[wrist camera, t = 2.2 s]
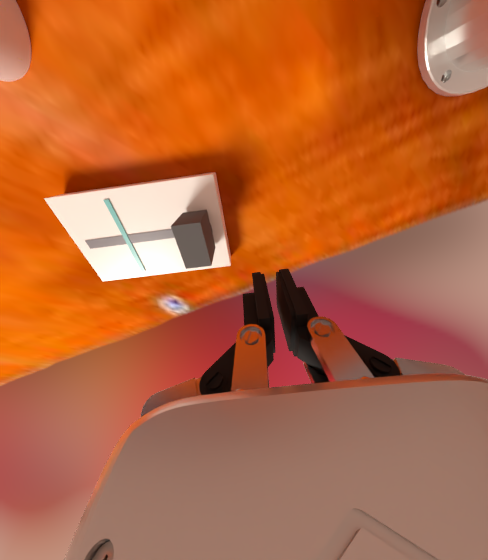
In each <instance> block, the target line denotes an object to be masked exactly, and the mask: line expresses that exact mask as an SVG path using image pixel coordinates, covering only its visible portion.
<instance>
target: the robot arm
mask: <svg viewBox="0 0 488 560" xmlns="http://www.w3.org/2000/svg"><path fill="white" fill-rule="evenodd" d="M417 55H418V64H419V69H420V72H421V75H422V78H423V80H424V81H425V83H426V84H427V86H428V87H429V88H430V89H431V90H433V91H434V92H435V93H437V94H440V95H443V96H460V95H464V94H468V93H472V92H475V91H478V90H480V89H483V88H485V87H487V86H488V0H426V1H425V5H424V8H423V11H422V16H421V21H420V27H419V32H418V47H417ZM252 277H253V286H254V293H247V294H243V307H244V326H243V327H242V328H241V329H240V330H239V331H238V333H237V338H236V343H235V344H234V345H233V346H232V347H231V348H230V349H229V350H228V351H226V352H225V353H224V354H223V355H222V356H221V357H220V358H219V359H218V360H217V361H216V362H215V363H214V364H213V365H212V366H211V367H210V368H209V369H208V370H207V371H206V372H205V373H204V374H203V376H202V377H201V378H198V379H195V378H193V379H190V380H188V381H185V382H183V383H180V384H178V385H175V386H173V387H170V388H168V389H165V390H163V391H160V392H158V393H156V394H154V395H152V396H151V397H150V398H149V399H148V400H147V401H146V403H145V405H144V406H143V409H142V413H141V417H140V418H139V419H138V420H136V421H135V422H134V423H133V424H132V425H131V426H129V427H128V429H127V430H126V431H125V432H124V434H123V435H122V436H121V437H120V439H119V440H118V442H117V444H116V445H115V447H114V449H113V451H112V453H111V455H110V456H109V458H108V460H107V462H106V465H105V467H104V469H103V471H102V473H101V475H100V477H99V479H98V482H97V484H96V486H95V488H94V490H93V493H92V495H91V497H90V500H89V502H88V504H87V506H86V509H85V511H84V514H83V516H82V518H81V521H80V523H79V525H78V527H77V530H76V532H75V535H74V537H73V539H72V542H71V544H70V547H69V549H68V552H67V554H66V557H65V559H64V560H488V379H483V378H479V377H474V376H468V375H465V374H463V373H462V372H460V371H459V370H457V369H455V368H453V367H450V366H446V365H442V364H435V363H429V362H422V361H415V360H408V359H402V358H395V359H394V360H393V359H390V358H389V357H388V356H386V355H384V354H382V353H380V352H378V351H376V350H374V349H372V348H370V347H368V346H365V345H363V344H361V343H359V342H357V341H355V340H353V339H351V338H349V337H347V336H345V335H344V334H343V333H342V332H341V330H340V329H339V327H338V326H337V325H336V324H335V323H334V322H333V321H332V320H330V319H328V318H326V317H319V316H318V314H317V313H316V311H315V309H314V307H313V305H312V303H311V301H310V299H309V297H308V295H307V293H306V291H305V289H304V288H303V287H298V288H297V287H296V285H295V283H294V281H293V278H292V276H291V274H290V272H289V269H281V270H279V272H276V284H277V285H276V287H277V308H278V312H279V315H280V319H281V323H282V326H283V330H284V334H285V337H286V341H287V345H288V349H289V351H293V355H294V356H297V357H298V358H299V359H301V360H302V361H303V364H304V367H305V369H306V372H307V374H308V376H309V379H310V381H311V383H312V384H303V385H293V386H283V387H272V388H269V379H268V366H269V365H270V364H271V363H272V361H273V353H275V334H274V333H275V332H274V316H273V311H272V307H271V302H270V298H269V294H268V289H267V285H266V281H265V277H264V274H261V273H260V272H257V273H252Z"/></svg>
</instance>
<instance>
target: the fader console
mask: <svg viewBox="0 0 488 560" xmlns="http://www.w3.org/2000/svg"><path fill="white" fill-rule="evenodd" d="M44 199H45V201H46V202H47V204H48V205H49V206H50V208H51V209H52V211H53V212H54V214H55V215H56V216H57V218H58V219H59V221H60V222H61V223H62V225H63V226H64V228H65V229H66V230H67V232H68V233H69V235H70V236H71V237H72V239H73V240H74V242H75V243H76V244H77V246H78V247H79V249H80V250H81V251H82V253H83V254H84V256H85V257H86V259H87V260H88V261H89V263H90V264H91V266H92V267H93V268H94V270H95V271H96V273H97V274H98V275H99V277H100V278H101V280H102V281H111V280H119V279H127V278H135V277H143V276H151V275H159V274H167V273H175V272H183V271H192V270H200V269H208V268H216V267H224V266H231V253H230V248H229V242H228V237H227V232H226V226H225V221H224V215H223V210H222V204H221V199H220V193H219V188H218V182H217V177H216V172H212V173H205V174H198V175H191V176H184V177H177V178H170V179H163V180H156V181H149V182H142V183H136V184H129V185H122V186H115V187H108V188H101V189H94V190H87V191H80V192H73V193H66V194H61V195H57V196H53V197H49V198H44ZM206 209H207V212H208V216H209V221H210V225H211V229H212V234H213V238H214V242H215V252H214V257H213V261H212V266H205V267H197V268H189V269H186V268H185V265H184V262H183V259H182V257H181V254H180V251H179V248H178V246H177V243H176V240H175V237H174V234H173V232H172V229H171V225H172V224H173V223H174V222H175V221H176V220H177V219H178V217H179V216H180V215H181V214H182V213H184V212H192V211H199V210H206Z"/></svg>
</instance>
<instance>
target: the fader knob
mask: <svg viewBox="0 0 488 560" xmlns="http://www.w3.org/2000/svg"><path fill="white" fill-rule="evenodd" d="M171 229H172V232H173V234H174V237H175V240H176V243H177V246H178V248H179V251H180V254H181V257H182V259H183V262H184V265H185V268H186V269H189V268H197V267H205V266H212V261H213V257H214V252H215V242H214V238H213V234H212V229H211V225H210V221H209V216H208V212H207V209H206V210H199V211H192V212H184V213H182V214H181V215H180V216H179V217H178V219H177V220H176V221H175V222H174V223H173V224H172V225H171Z"/></svg>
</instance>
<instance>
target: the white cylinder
mask: <svg viewBox="0 0 488 560" xmlns="http://www.w3.org/2000/svg"><path fill="white" fill-rule="evenodd" d="M30 62H31V42H30V37H29V33H28V29H27V26H26V23H25V20H24V17H23V15H22V12H21V10H20V8H19V6H18V4H17V2H16V0H0V80H1V81H15V80H18V79H20V78H22V77H23V76H24V75H25V74H26V72H27V71H28V69H29V66H30Z"/></svg>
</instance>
